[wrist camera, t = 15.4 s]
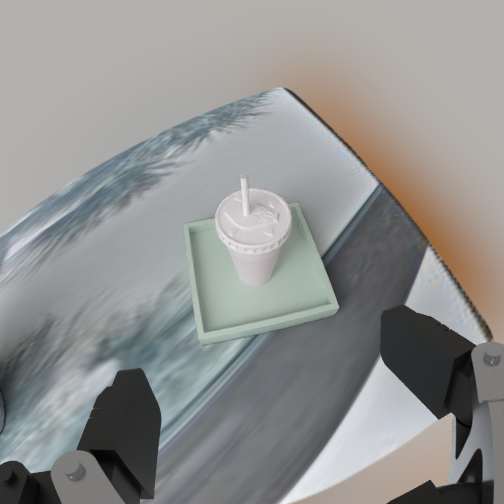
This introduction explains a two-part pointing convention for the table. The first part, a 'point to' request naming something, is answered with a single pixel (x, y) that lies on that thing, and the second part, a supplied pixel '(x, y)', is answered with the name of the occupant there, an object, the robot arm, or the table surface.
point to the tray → (255, 298)
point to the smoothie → (253, 230)
